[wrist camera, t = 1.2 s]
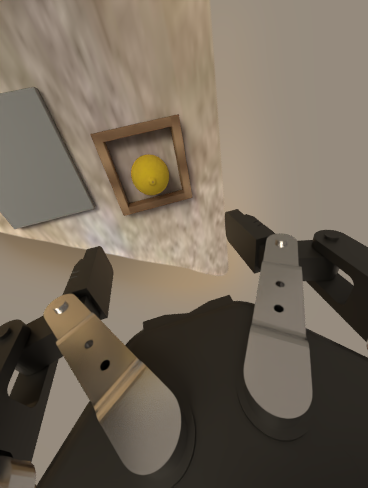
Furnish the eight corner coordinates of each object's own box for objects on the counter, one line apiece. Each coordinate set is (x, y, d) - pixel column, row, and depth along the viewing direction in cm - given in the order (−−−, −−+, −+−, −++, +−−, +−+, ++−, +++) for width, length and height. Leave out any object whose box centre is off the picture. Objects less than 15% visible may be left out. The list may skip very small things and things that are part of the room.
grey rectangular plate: (-76, 110, 22) (-84, 110, 21) (36, 88, 23) (33, 87, 22) (17, 226, 31) (14, 229, 30) (95, 206, 32) (94, 208, 31)
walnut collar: (92, 133, 27) (90, 134, 25) (175, 114, 28) (178, 114, 26) (124, 211, 34) (123, 215, 32) (189, 194, 35) (192, 197, 33)
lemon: (159, 190, 33) (165, 206, 27) (127, 180, 31) (126, 195, 25) (169, 158, 31) (179, 168, 24) (135, 145, 29) (136, 152, 22)
